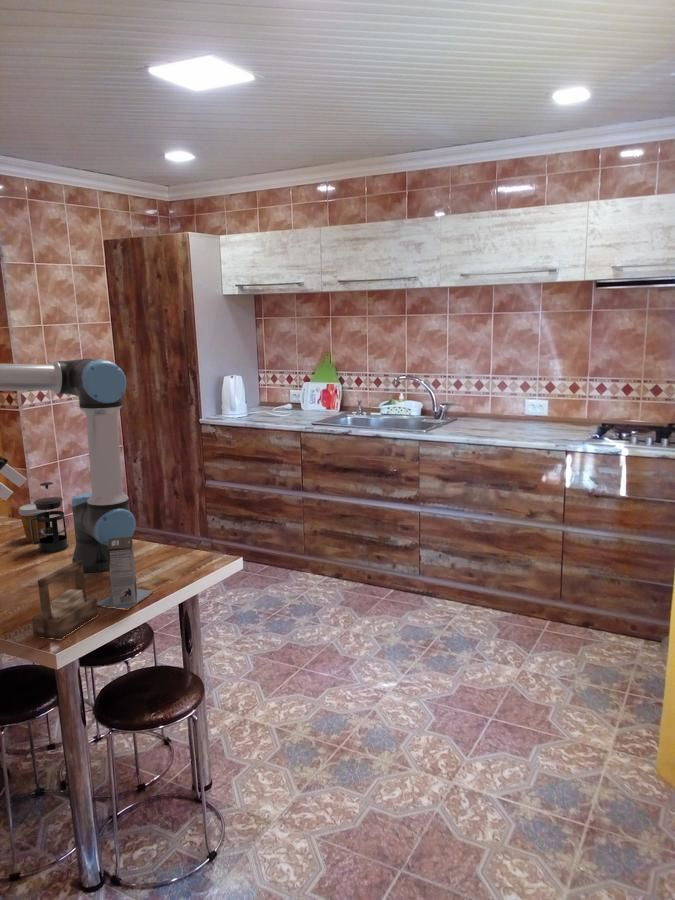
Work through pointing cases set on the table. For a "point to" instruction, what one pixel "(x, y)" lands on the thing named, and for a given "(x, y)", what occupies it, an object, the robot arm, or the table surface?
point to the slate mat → (109, 603)
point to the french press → (52, 539)
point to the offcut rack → (63, 605)
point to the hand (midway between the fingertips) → (16, 489)
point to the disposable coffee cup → (31, 512)
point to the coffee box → (122, 570)
